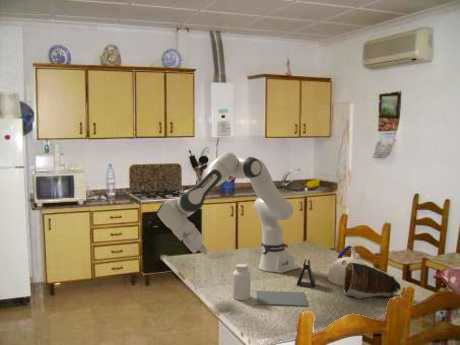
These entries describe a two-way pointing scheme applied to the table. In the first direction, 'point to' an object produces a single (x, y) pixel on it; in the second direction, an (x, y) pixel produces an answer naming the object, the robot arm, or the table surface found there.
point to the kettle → (342, 266)
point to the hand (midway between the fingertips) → (206, 253)
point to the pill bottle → (241, 282)
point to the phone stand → (312, 280)
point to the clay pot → (368, 282)
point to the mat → (281, 298)
